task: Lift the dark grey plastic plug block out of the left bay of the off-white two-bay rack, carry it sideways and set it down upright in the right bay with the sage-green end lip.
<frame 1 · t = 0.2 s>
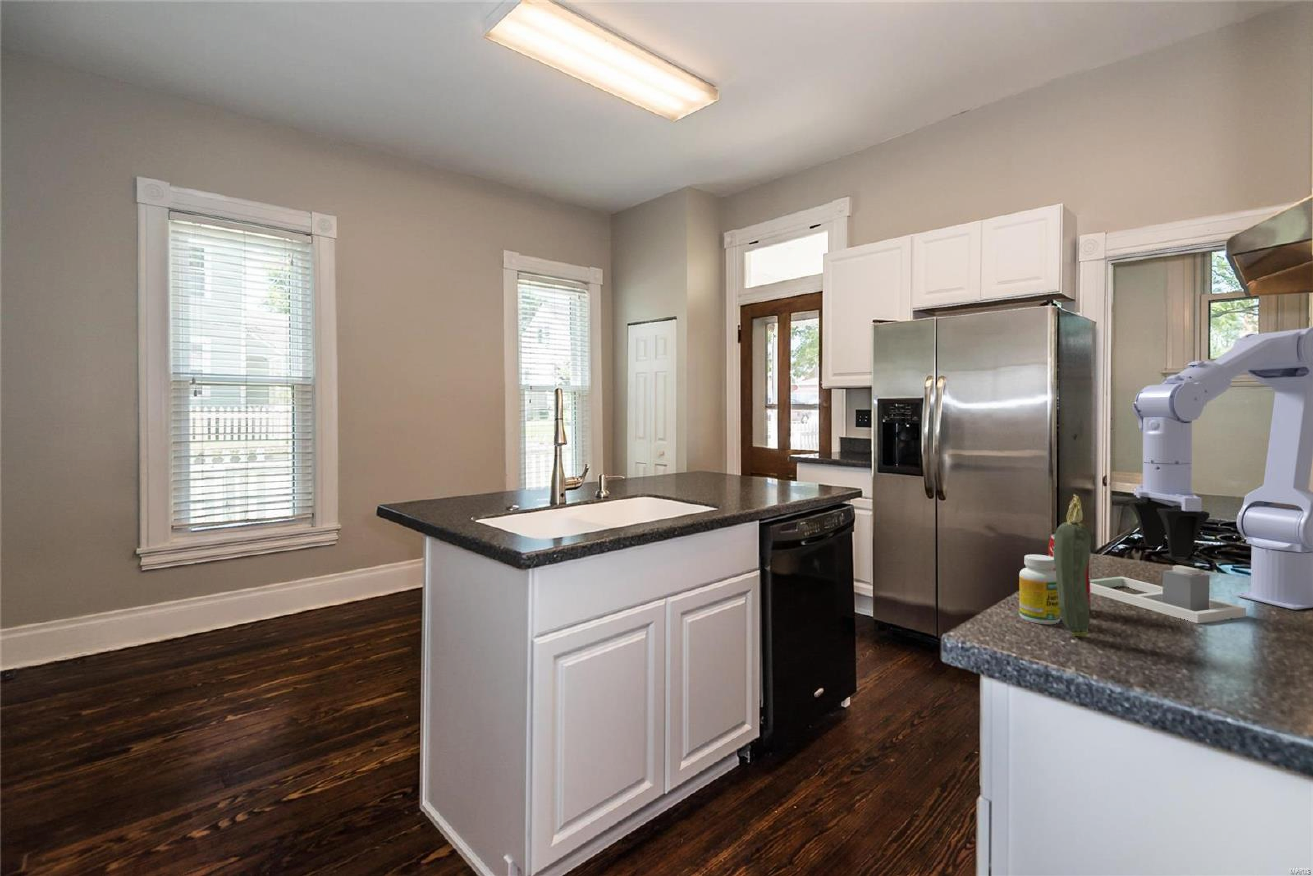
hand: (1166, 551, 94), 10 cm above the countertop, tool pointing down, fingers open, 7 cm apart
vegetable: (1071, 637, 86), on the countertop
rack: (1155, 601, 101), on the countertop
soda can: (1068, 611, 97), on the countertop
supplement bottle: (1039, 620, 93), on the countertop
plug: (1185, 610, 96), resting in rack
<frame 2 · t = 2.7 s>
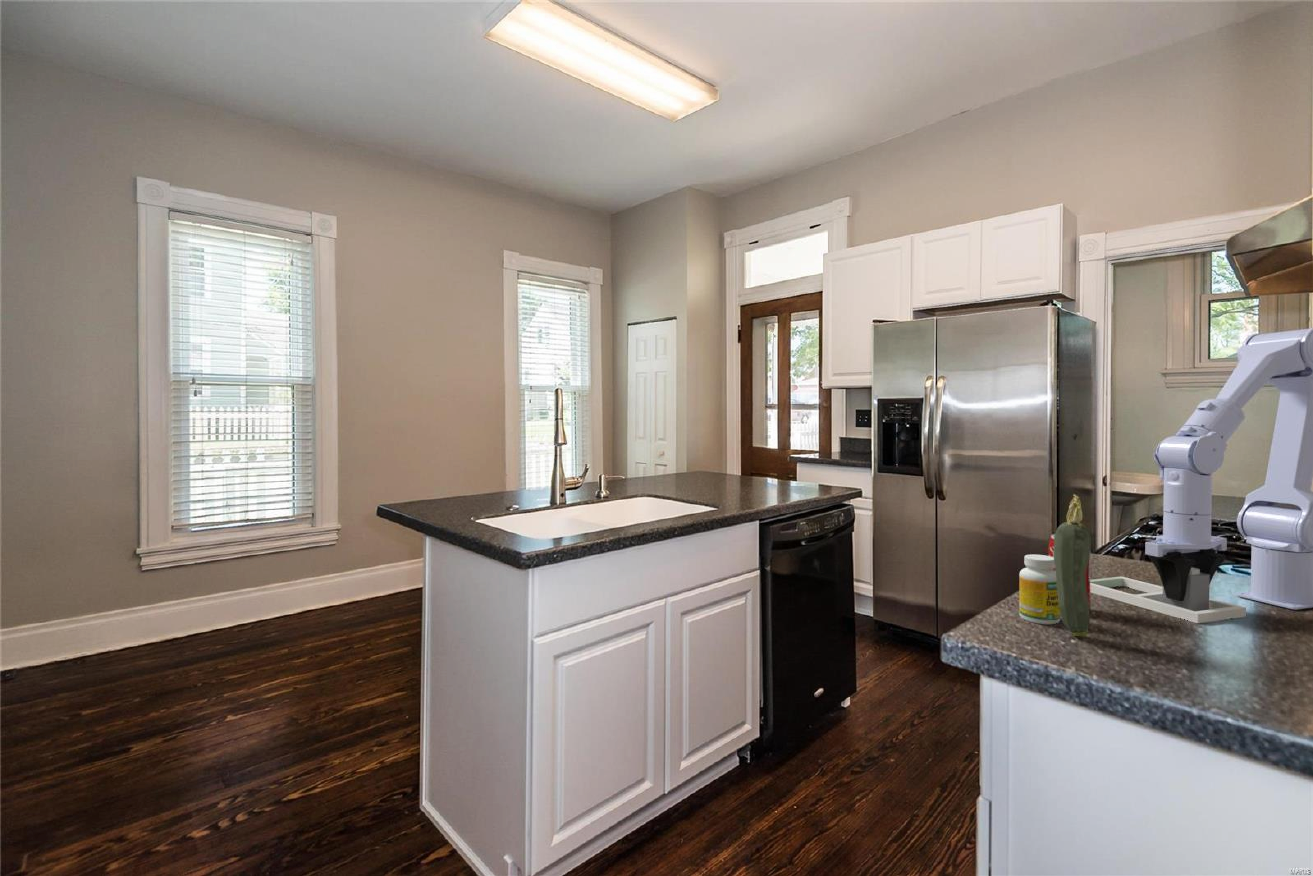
hand: (1185, 598, 96), 2 cm above the countertop, tool pointing down, fingers closed on plug, 4 cm apart
plug: (1185, 610, 96), resting in rack, touching gripper
everything else where it was.
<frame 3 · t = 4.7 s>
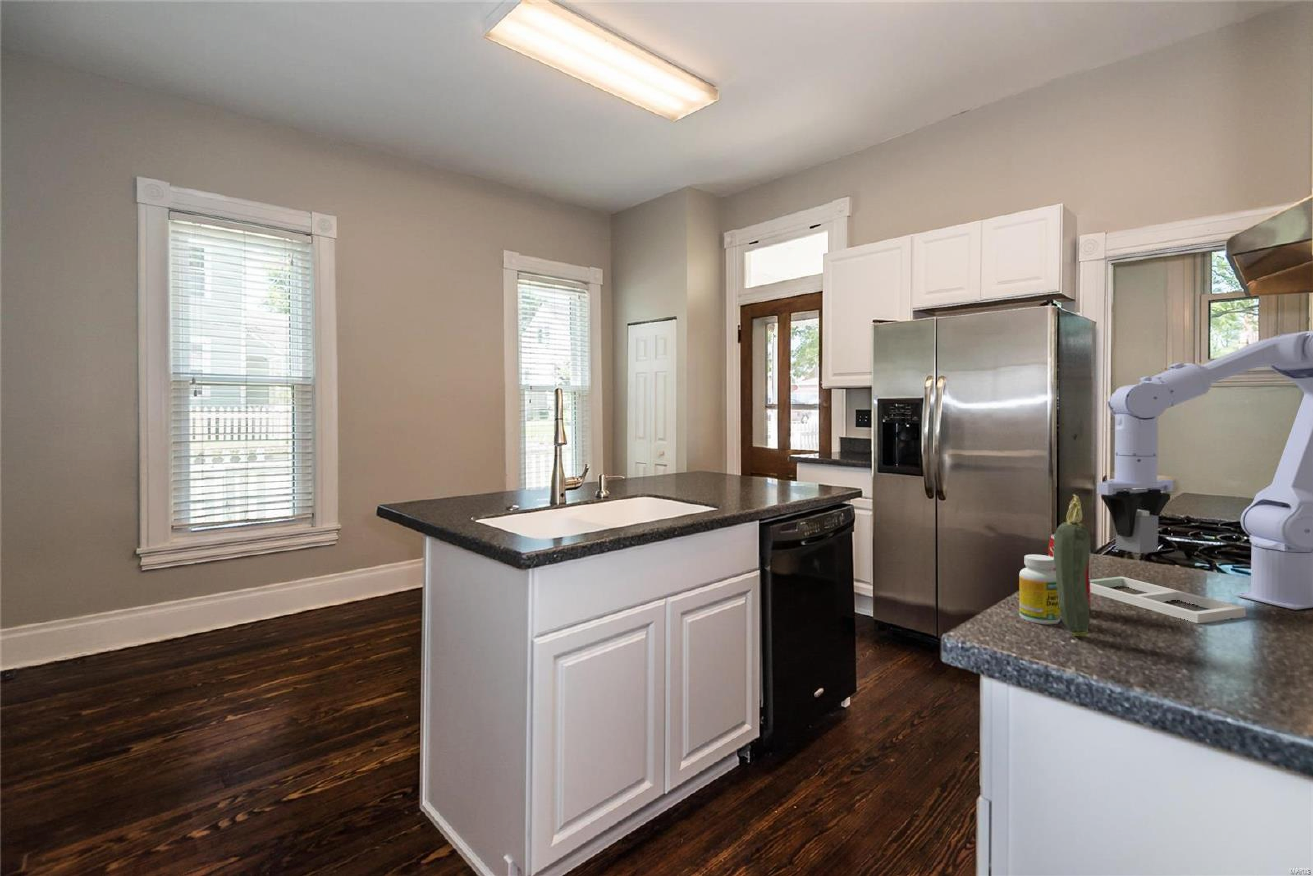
hand: (1134, 535, 104), 10 cm above the countertop, tool pointing down, fingers closed on plug, 4 cm apart
plug: (1136, 549, 103), point 8 cm above the countertop, touching gripper
everything else where it was.
when the fingers open (3 cm above the countertop, at t = 7.1 s): plug stays where it is, resting in rack.
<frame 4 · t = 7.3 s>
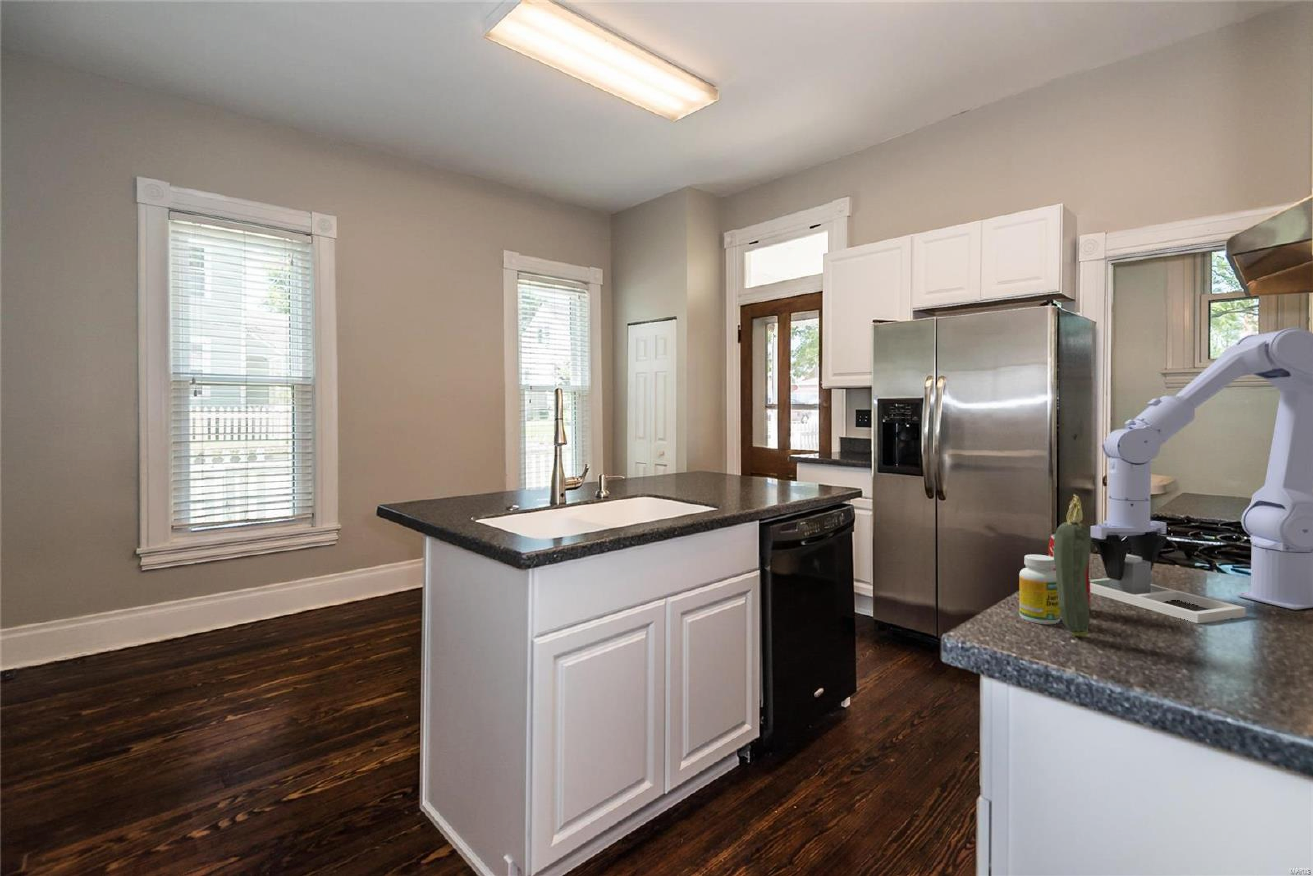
hand: (1128, 577, 105), 3 cm above the countertop, tool pointing down, fingers open, 6 cm apart
plug: (1129, 595, 105), resting in rack
everything else where it was.
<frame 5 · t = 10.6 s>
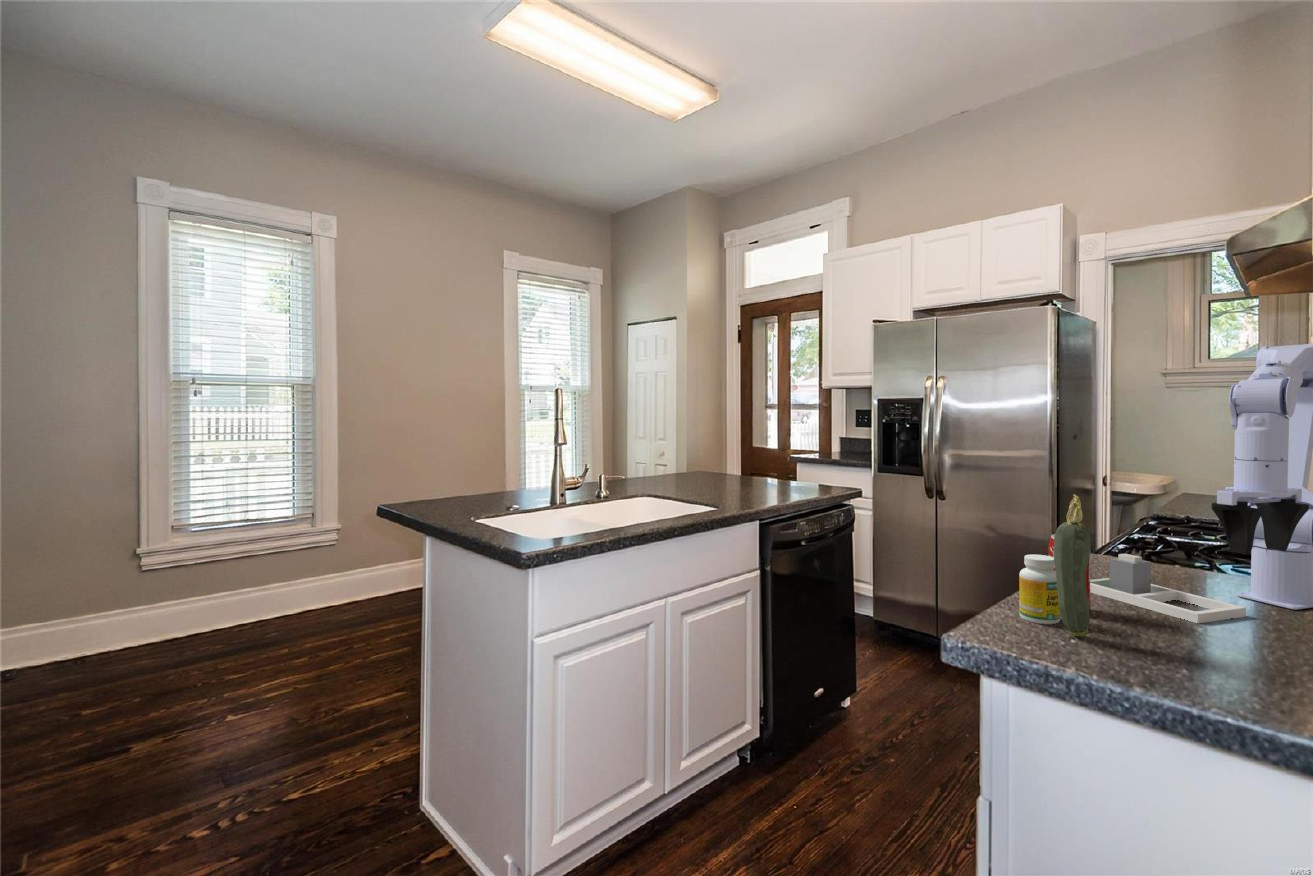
hand: (1258, 551, 91), 10 cm above the countertop, tool pointing down, fingers open, 7 cm apart
nothing on the countertop moved.
at the end: plug inside the target area (0.3 cm from its centre), resting in rack; plug tilted 0°; the gripper is holding nothing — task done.
